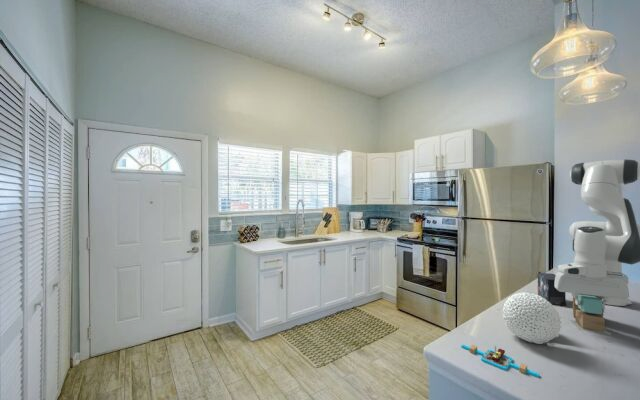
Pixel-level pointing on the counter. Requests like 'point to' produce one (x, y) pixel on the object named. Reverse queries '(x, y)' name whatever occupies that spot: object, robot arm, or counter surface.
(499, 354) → the gear mechanism
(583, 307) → the teal cube
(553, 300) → the small box
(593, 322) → the walnut base block
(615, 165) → the robot arm
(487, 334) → the counter surface
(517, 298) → the white coral
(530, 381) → the counter surface
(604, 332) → the square tile
